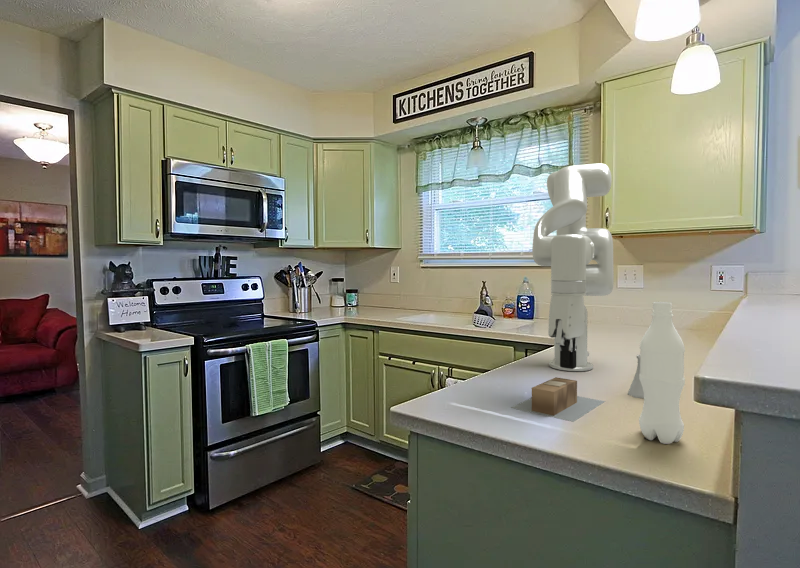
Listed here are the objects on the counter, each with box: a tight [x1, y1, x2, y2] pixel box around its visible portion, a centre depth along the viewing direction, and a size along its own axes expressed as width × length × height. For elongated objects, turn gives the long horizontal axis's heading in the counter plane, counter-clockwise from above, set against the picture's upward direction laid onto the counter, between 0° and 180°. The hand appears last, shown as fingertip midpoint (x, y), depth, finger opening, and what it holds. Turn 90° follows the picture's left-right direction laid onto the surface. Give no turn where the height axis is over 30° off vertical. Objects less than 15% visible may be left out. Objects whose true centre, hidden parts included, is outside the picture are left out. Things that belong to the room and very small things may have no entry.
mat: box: [510, 395, 606, 423], centre depth 104 cm, size 18×14×1 cm
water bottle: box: [638, 301, 686, 445], centre depth 84 cm, size 7×7×25 cm
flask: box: [627, 354, 644, 400], centre depth 111 cm, size 7×7×10 cm
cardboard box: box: [531, 376, 578, 416], centre depth 103 cm, size 5×5×12 cm
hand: (568, 367), depth 108 cm, fingers closed
